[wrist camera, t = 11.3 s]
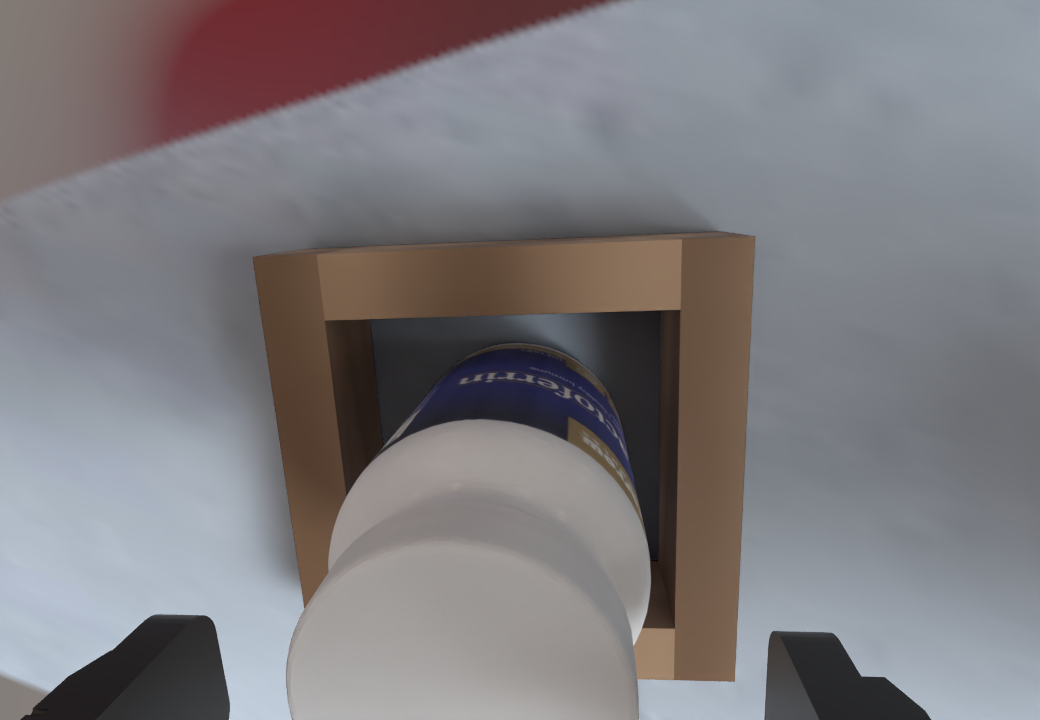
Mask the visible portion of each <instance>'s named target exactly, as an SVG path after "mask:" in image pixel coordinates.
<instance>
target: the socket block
mask: <svg viewBox="0 0 1040 720" xmlns="http://www.w3.org/2000/svg"><path fill="white" fill-rule="evenodd" d="M754 250H755V236H749V235H742V234H735V233H728V232H698V233H674V234H650V235H626V236H603V237H579V238H555V239H531V240H507V241H484V242H460V243H436V244H412V245H388V246H365V247H341V248H317V249H304V250H297V251H291V252H284V253H277V254H270V255H263V256H256V257H253V263H254V270H255V276H256V283H257V290H258V297H259V304H260V310H261V317H262V324H263V331H264V337H265V344H266V351H267V358H268V365H269V371H270V378H271V385H272V392H273V398H274V405H275V412H276V419H277V426H278V432H279V439H280V446H281V453H282V459H283V466H284V473H285V480H286V487H287V493H288V500H289V507H290V514H291V520H292V527H293V534H294V541H295V547H296V554H297V561H298V568H299V575H300V581H301V588H302V595H303V602H304V608H305V607H306V606H307V604H308V603H309V601H310V599H311V598H312V596H313V595H314V593H315V592H316V590H317V589H318V587H319V586H320V584H321V583H322V581H323V580H324V579H325V577H326V576H327V574H328V573H329V569H328V559H329V549H330V543H331V537H332V533H333V529H334V525H335V522H336V519H337V517H338V514H339V511H340V509H341V507H342V505H343V503H344V501H345V499H346V497H347V495H348V493H349V491H350V490H351V488H352V487H353V485H354V483H355V482H356V480H357V479H358V478H359V476H360V475H361V473H362V472H363V471H364V469H365V468H366V467H367V466H368V464H369V463H370V462H371V461H372V460H373V459H374V457H375V456H376V455H377V454H378V453H379V452H380V451H381V449H382V448H383V442H382V432H381V423H380V413H379V404H378V394H377V385H376V375H375V366H374V356H373V347H372V337H371V328H370V319H392V318H424V317H457V316H490V315H523V314H556V313H589V312H621V311H654V310H661V355H660V452H659V550H658V561H650V571H651V588H650V597H649V603H648V609H647V614H646V617H645V620H644V623H643V626H642V630H641V632H640V634H639V636H638V638H637V641H636V642H635V644H634V652H635V661H636V671H637V679H655V680H694V681H733V682H735V663H736V641H737V620H738V598H739V576H740V554H741V533H742V511H743V489H744V468H745V446H746V424H747V402H748V381H749V359H750V337H751V315H752V294H753V272H754Z"/></svg>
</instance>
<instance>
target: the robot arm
mask: <svg viewBox="0 0 1040 720" xmlns="http://www.w3.org/2000/svg"><path fill="white" fill-rule="evenodd" d="M229 712H230V702H229V696H228V691H227V685H226V680H225V675H224V670H223V664H222V659H221V654H220V648H219V643H218V638H217V633H216V628H215V625H214V623H213V621H212V620H211V619H210V618H209V617H208V616H202V615H161V614H160V615H153V616H151V617H149V618H147V619H146V620H145V621H144V622H143V623H142V624H140V625H139V626H138V627H137V628H136V629H135V630H134V631H133V632H132V633H131V634H130V635H129V636H128V637H126V638H125V639H124V640H123V641H122V642H121V643H120V644H119V645H118V646H117V647H116V648H115V649H114V650H112V651H109V652H108V653H106V654H104V655H103V656H101V657H99V658H98V659H96V660H95V661H93V662H91V663H90V664H88V665H86V666H85V667H83V668H82V669H80V670H78V671H77V672H75V673H73V674H72V675H70V676H68V677H67V678H66V679H65V680H64V681H63V682H62V683H61V684H59V685H58V686H57V687H56V688H55V689H54V690H53V691H52V692H51V693H49V694H48V695H47V696H46V697H45V698H44V699H43V700H42V701H41V702H40V703H38V704H37V705H36V706H35V707H34V708H33V712H32V714H31V715H25V716H24V717H23V718H22V719H21V720H229ZM765 720H931V719H930V717H929V716H928V714H927V713H926V711H925V710H923V709H922V708H921V707H920V706H919V705H917V704H916V703H915V702H914V701H913V700H911V699H910V698H909V697H908V696H907V695H905V694H904V693H903V692H902V691H901V690H899V689H898V688H897V687H896V686H895V685H893V684H892V683H891V682H890V681H889V680H887V679H886V678H885V677H861V675H860V674H859V672H858V670H857V669H856V667H855V665H854V664H853V662H852V660H851V659H850V657H849V655H848V654H847V652H846V650H845V649H844V647H843V645H842V644H841V642H840V641H839V639H838V638H837V637H836V636H835V635H834V634H833V633H826V632H786V631H773V632H772V633H771V635H770V639H769V646H768V664H767V682H766V701H765Z"/></svg>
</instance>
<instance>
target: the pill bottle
mask: <svg viewBox="0 0 1040 720" xmlns="http://www.w3.org/2000/svg"><path fill="white" fill-rule="evenodd" d="M328 569H329V573H328V574H327V576H326V577H325V579H324V580H323V581H322V583H321V584H320V586H319V587H318V589H317V590H316V592H315V593H314V595H313V596H312V598H311V599H310V601H309V603H308V604H307V606H306V607H305V609H304V611H303V613H302V615H301V616H300V618H299V621H298V623H297V626H296V628H295V630H294V633H293V636H292V639H291V643H290V647H289V653H288V658H287V667H286V686H287V695H288V703H289V708H290V713H291V717H292V720H638V719H639V702H638V683H637V671H636V661H635V652H634V644H635V642H636V641H637V638H638V636H639V634H640V632H641V630H642V626H643V623H644V620H645V617H646V614H647V609H648V603H649V597H650V588H651V571H650V557H649V549H648V543H647V538H646V532H645V528H644V524H643V519H642V515H641V510H640V506H639V502H638V497H637V493H636V488H635V483H634V478H633V474H632V469H631V466H630V462H629V457H628V452H627V448H626V443H625V438H624V433H623V429H622V425H621V421H620V418H619V415H618V412H617V410H616V407H615V405H614V403H613V401H612V399H611V397H610V395H609V393H608V392H607V390H606V389H605V387H604V386H603V385H602V383H601V382H600V381H599V379H598V378H597V377H596V376H595V375H594V374H593V373H592V372H591V371H590V370H589V369H588V368H587V367H585V366H584V365H583V364H582V363H580V362H579V361H577V360H576V359H574V358H572V357H571V356H569V355H567V354H565V353H562V352H560V351H558V350H555V349H552V348H549V347H545V346H541V345H536V344H527V343H508V344H499V345H495V346H491V347H488V348H485V349H482V350H479V351H477V352H475V353H473V354H471V355H469V356H467V357H466V358H464V359H462V360H461V361H459V362H458V363H457V364H456V365H454V366H453V367H452V368H451V369H450V370H448V371H447V372H446V373H445V374H444V375H443V376H442V377H441V378H440V380H439V381H438V382H437V383H436V384H435V385H434V387H433V388H432V389H431V390H430V391H429V393H428V394H427V395H426V396H425V397H424V399H423V400H422V401H421V402H420V404H419V405H418V406H417V407H416V408H415V410H414V411H413V412H412V413H411V414H410V416H409V417H408V418H407V419H406V421H405V422H404V423H403V424H402V425H401V426H400V428H399V429H398V430H397V431H396V433H395V434H394V435H393V436H392V437H391V438H390V440H389V441H388V442H387V443H386V445H385V446H384V447H383V448H382V449H381V451H380V452H379V453H378V454H377V455H376V456H375V457H374V459H373V460H372V461H371V462H370V463H369V464H368V466H367V467H366V468H365V469H364V471H363V472H362V473H361V475H360V476H359V478H358V479H357V480H356V482H355V483H354V485H353V487H352V488H351V490H350V491H349V493H348V495H347V497H346V499H345V501H344V503H343V505H342V507H341V509H340V511H339V514H338V517H337V519H336V522H335V525H334V529H333V533H332V537H331V543H330V549H329V559H328Z"/></svg>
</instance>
